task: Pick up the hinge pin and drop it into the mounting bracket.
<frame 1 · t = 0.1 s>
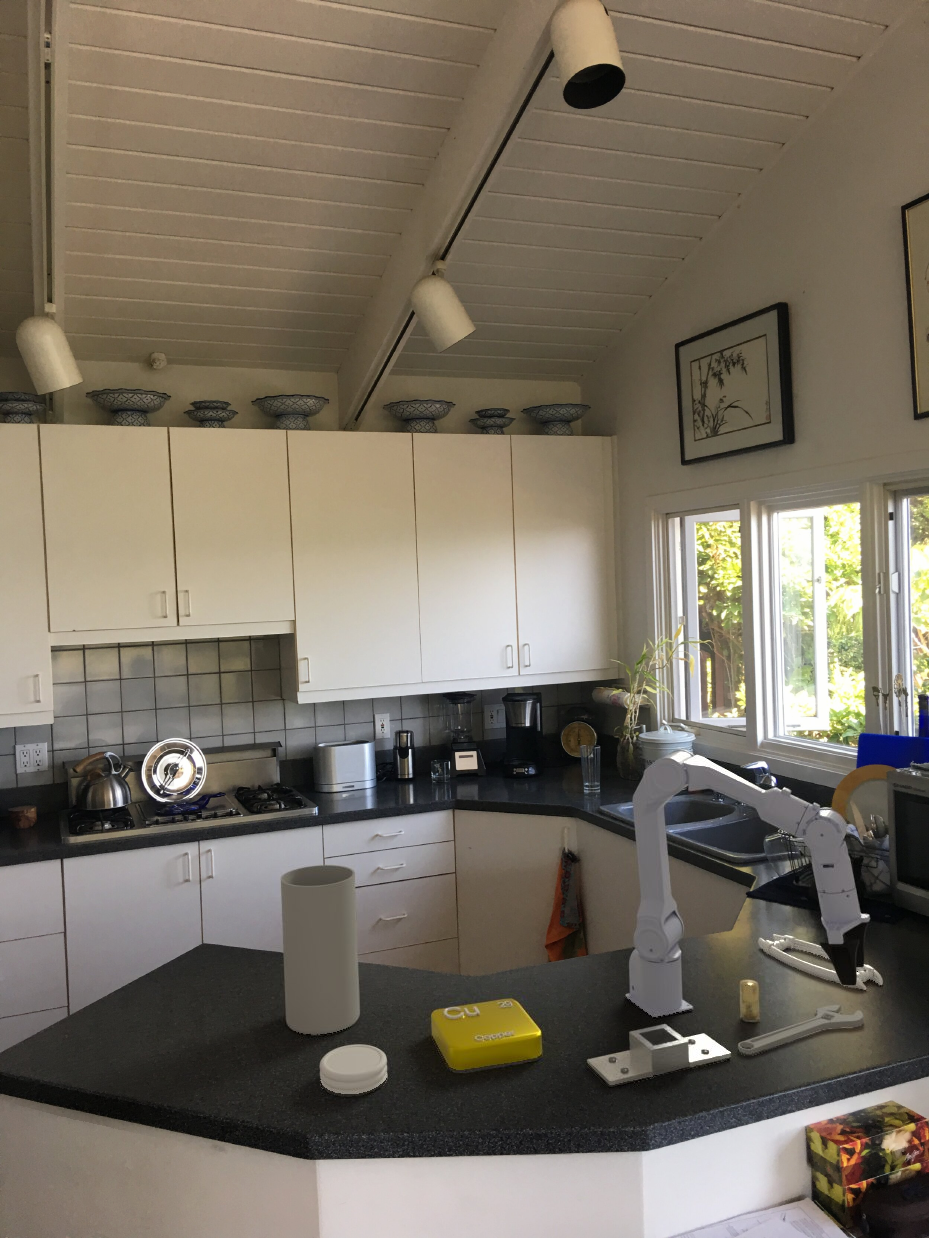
hand: (853, 975, 148), 11 cm above the counter, tool pointing down, fingers open, 7 cm apart
coaster: (354, 1083, 141), on the counter
white tongs: (816, 968, 178), on the counter
element tile: (485, 1049, 151), on the counter
adjustable wrench: (797, 1035, 152), on the counter
mounting bracket: (659, 1062, 143), on the counter
cylinder vase: (323, 1021, 162), on the counter
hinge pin: (750, 1019, 157), on the counter
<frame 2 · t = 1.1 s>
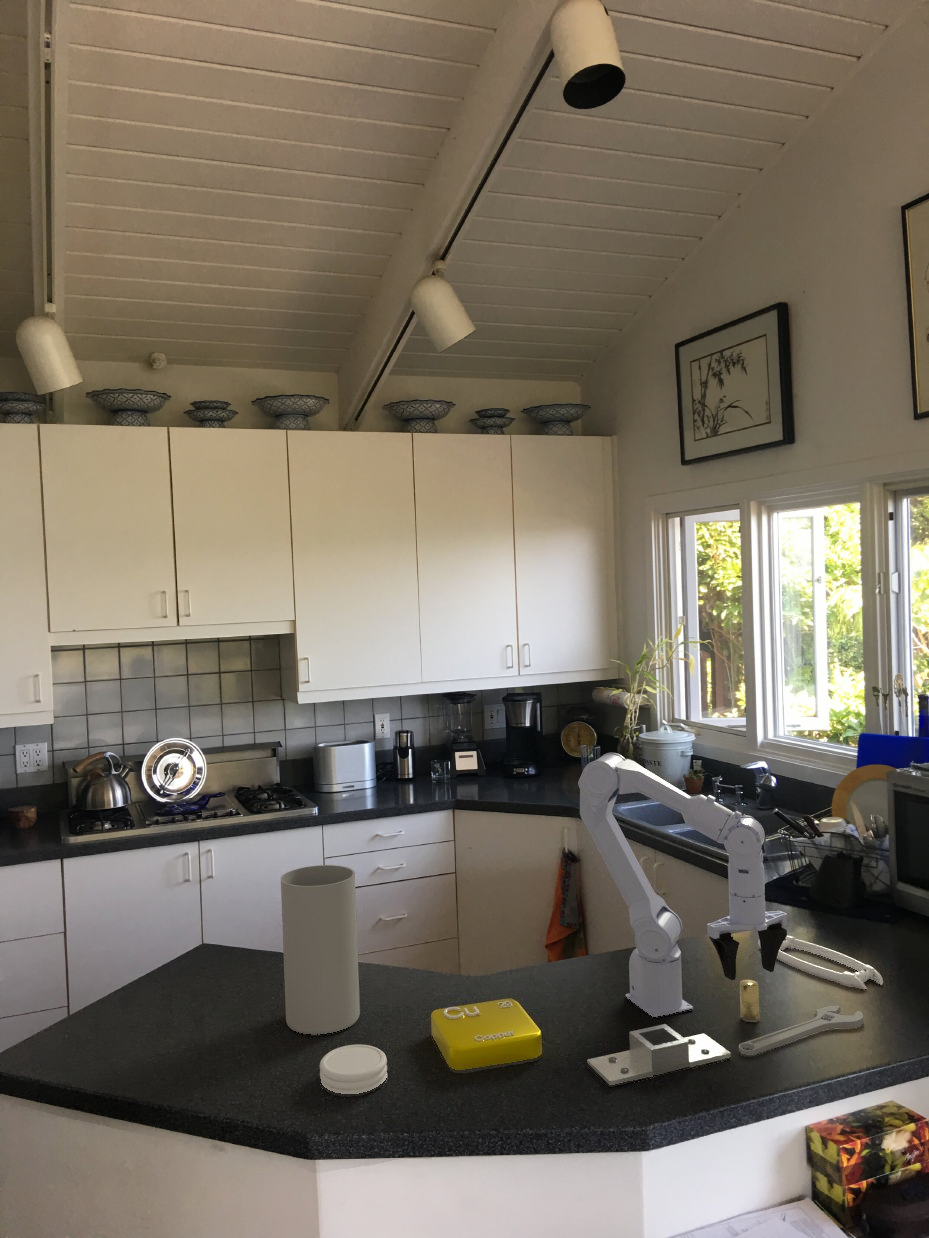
hand: (749, 973, 157), 8 cm above the counter, tool pointing down, fingers open, 7 cm apart
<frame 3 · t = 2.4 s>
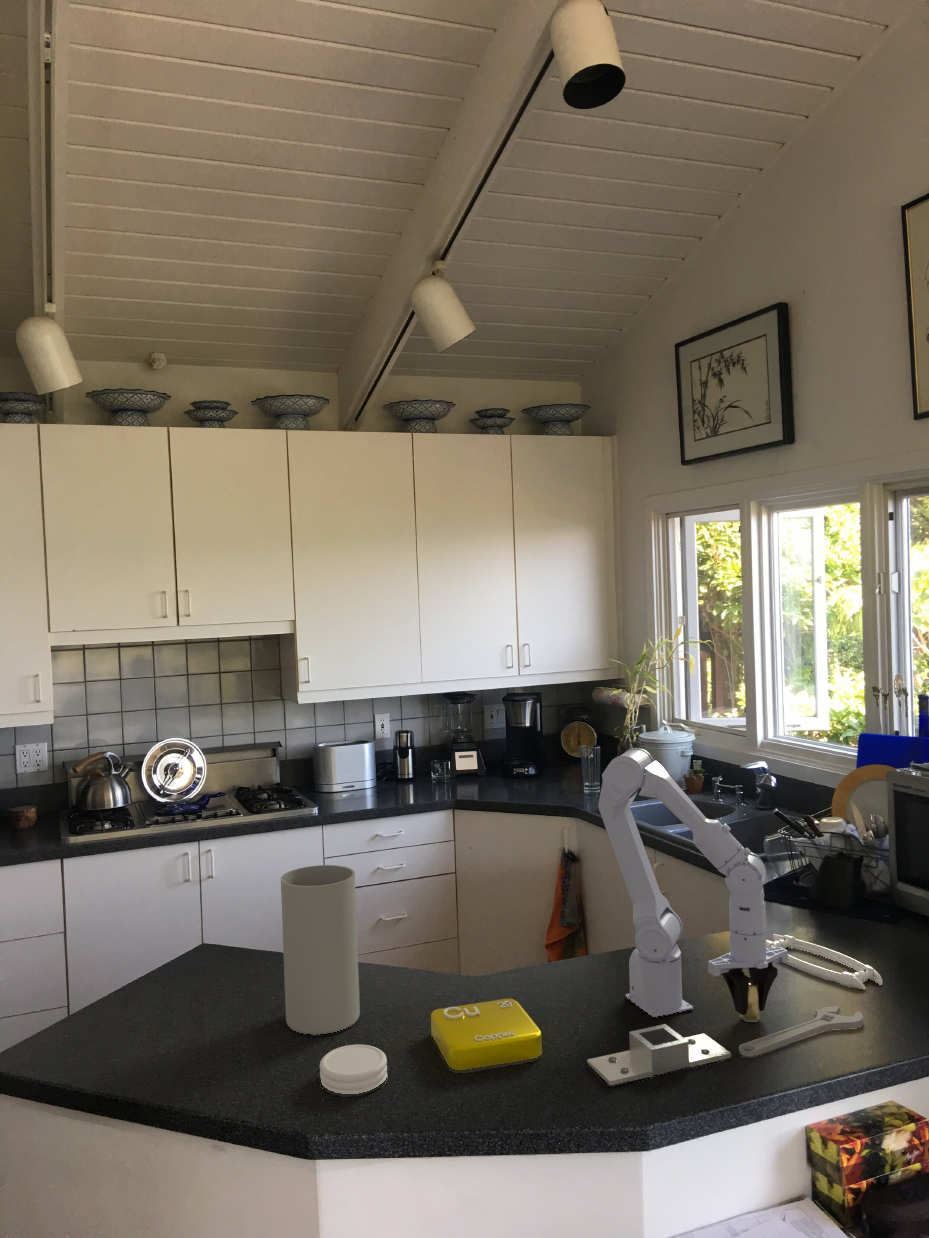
hand: (749, 1010, 157), 1 cm above the counter, tool pointing down, fingers closed on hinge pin, 3 cm apart
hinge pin: (750, 1019, 157), on the counter, touching gripper
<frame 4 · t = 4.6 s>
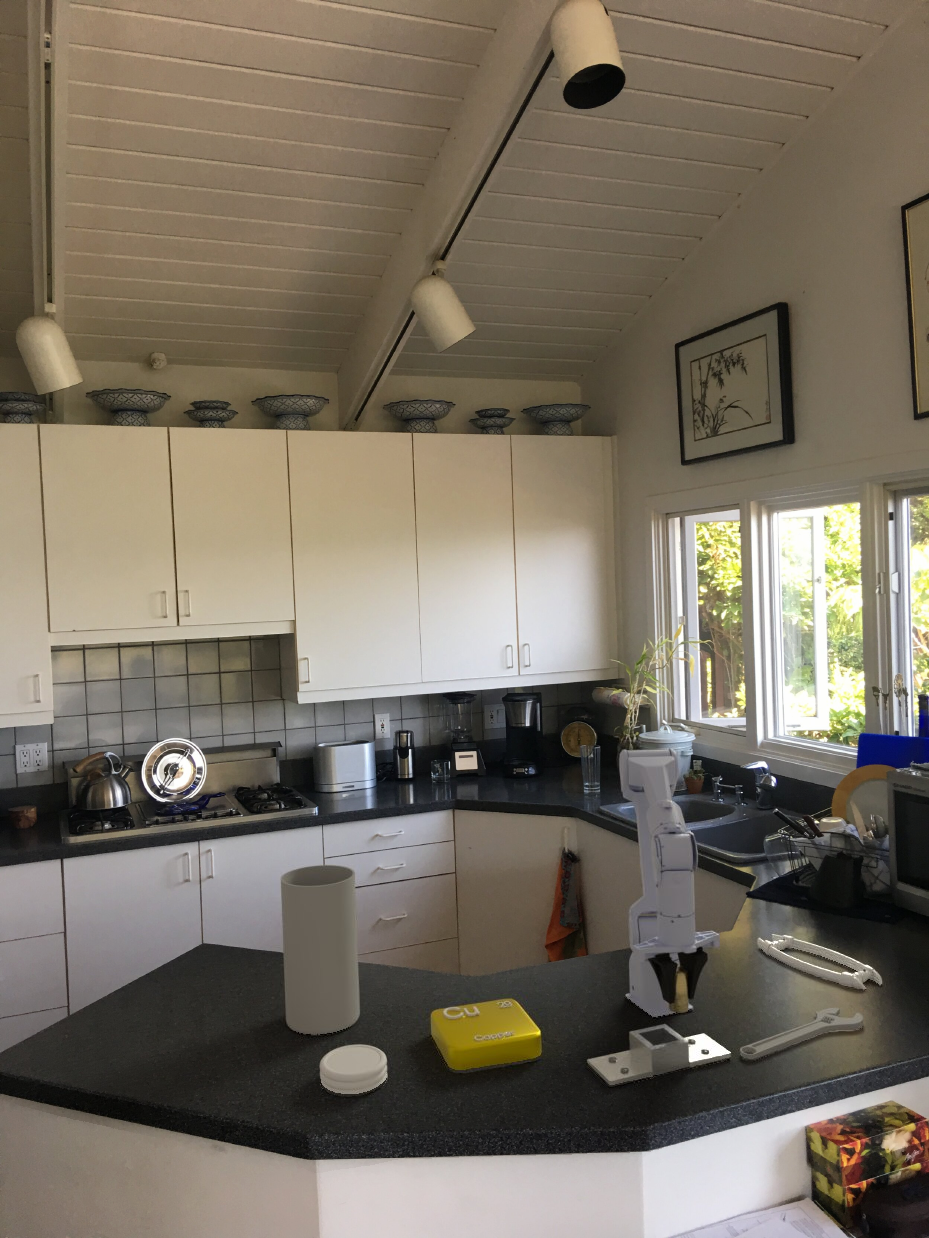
hand: (678, 998, 146), 8 cm above the counter, tool pointing down, fingers closed on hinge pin, 3 cm apart
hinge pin: (678, 1008, 146), point 7 cm above the counter, touching gripper
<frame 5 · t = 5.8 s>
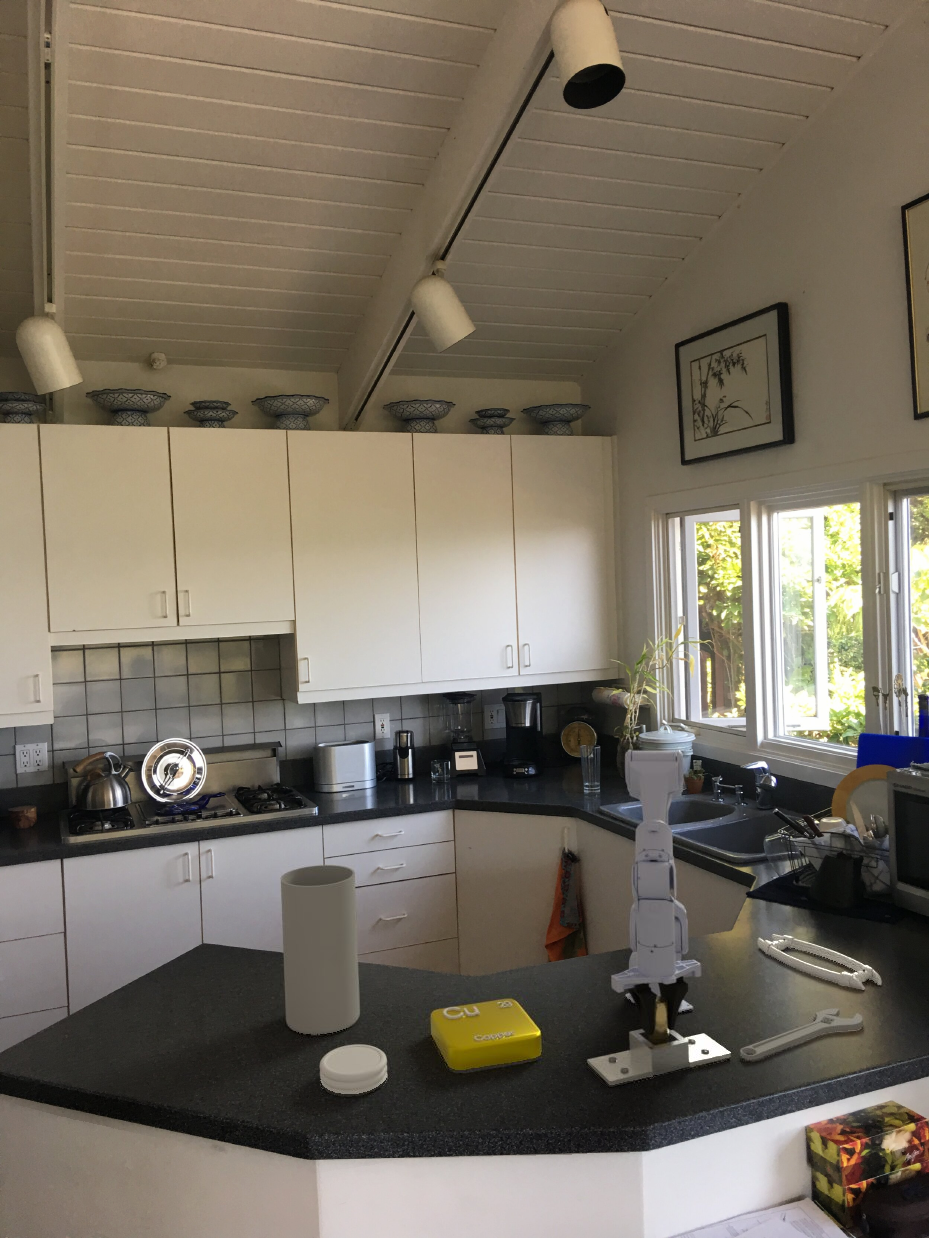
hand: (658, 1029, 143), 5 cm above the counter, tool pointing down, fingers closed on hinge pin, 3 cm apart
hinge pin: (658, 1039, 143), point 4 cm above the counter, touching gripper
when the fingers open (5 cm above the counter, at t = 6.8 s): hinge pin drops 3 cm, resting in mounting bracket.
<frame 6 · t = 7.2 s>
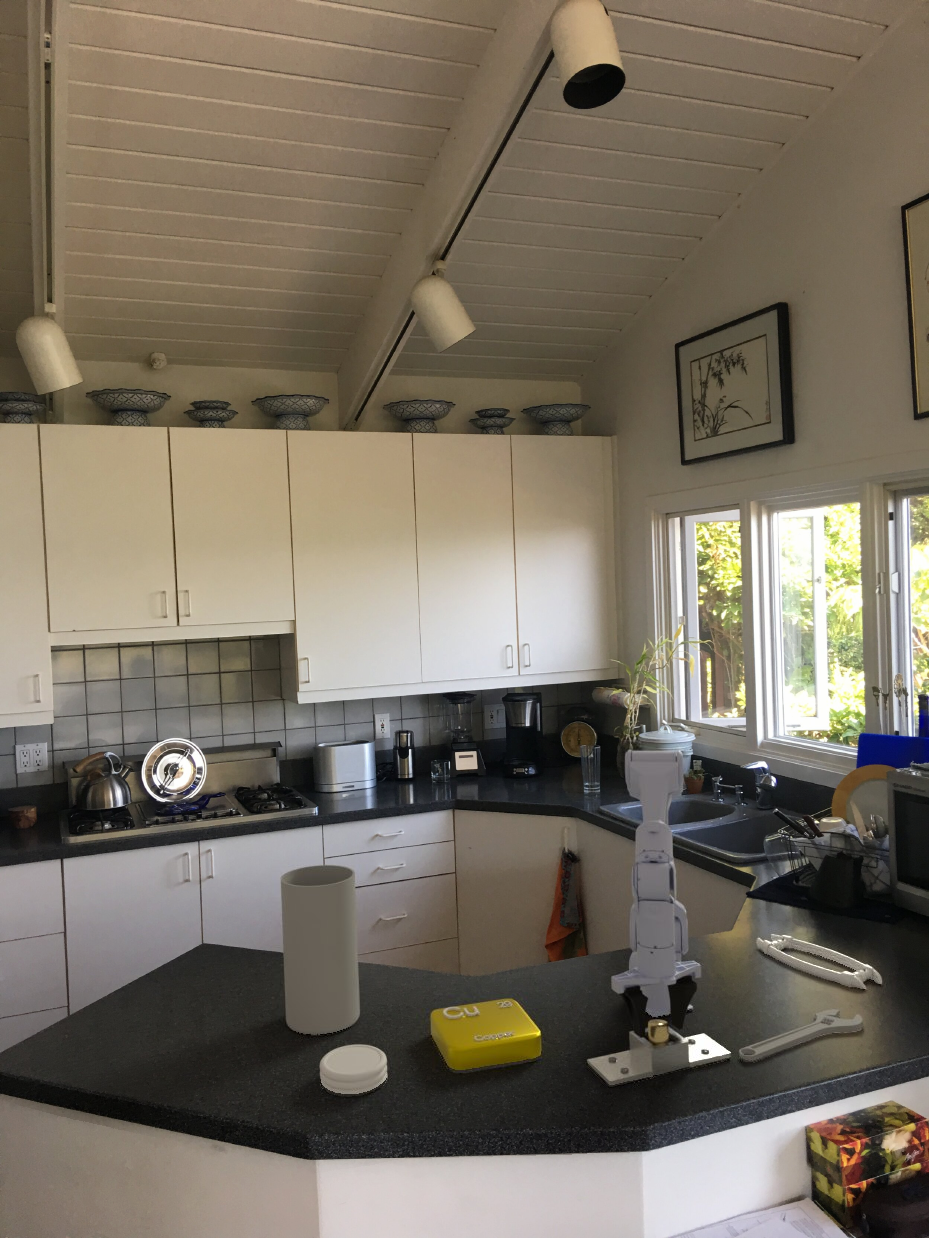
hand: (658, 1030, 143), 5 cm above the counter, tool pointing down, fingers open, 6 cm apart
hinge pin: (659, 1062, 143), resting in mounting bracket
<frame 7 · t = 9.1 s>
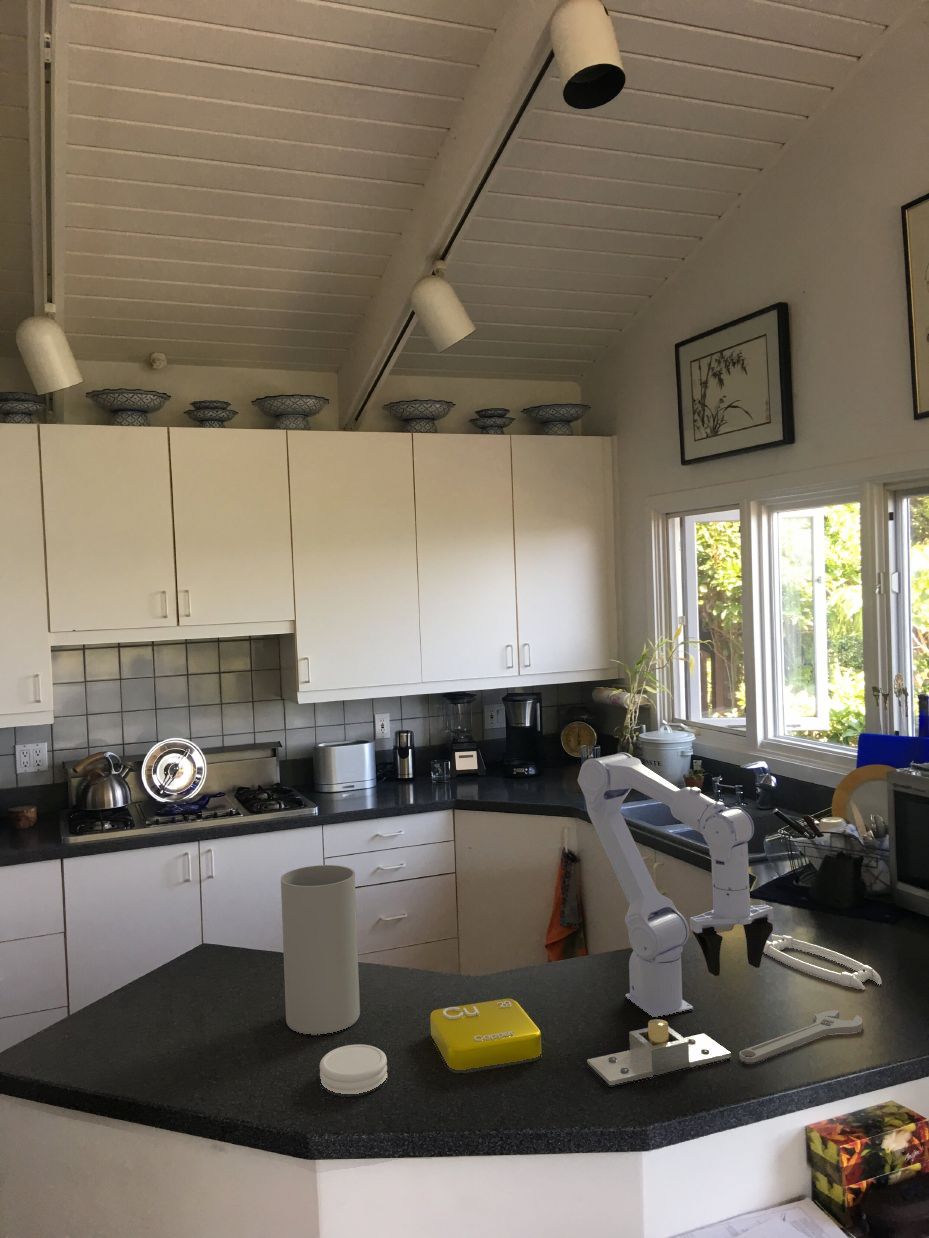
hand: (734, 969, 152), 10 cm above the counter, tool pointing down, fingers open, 7 cm apart
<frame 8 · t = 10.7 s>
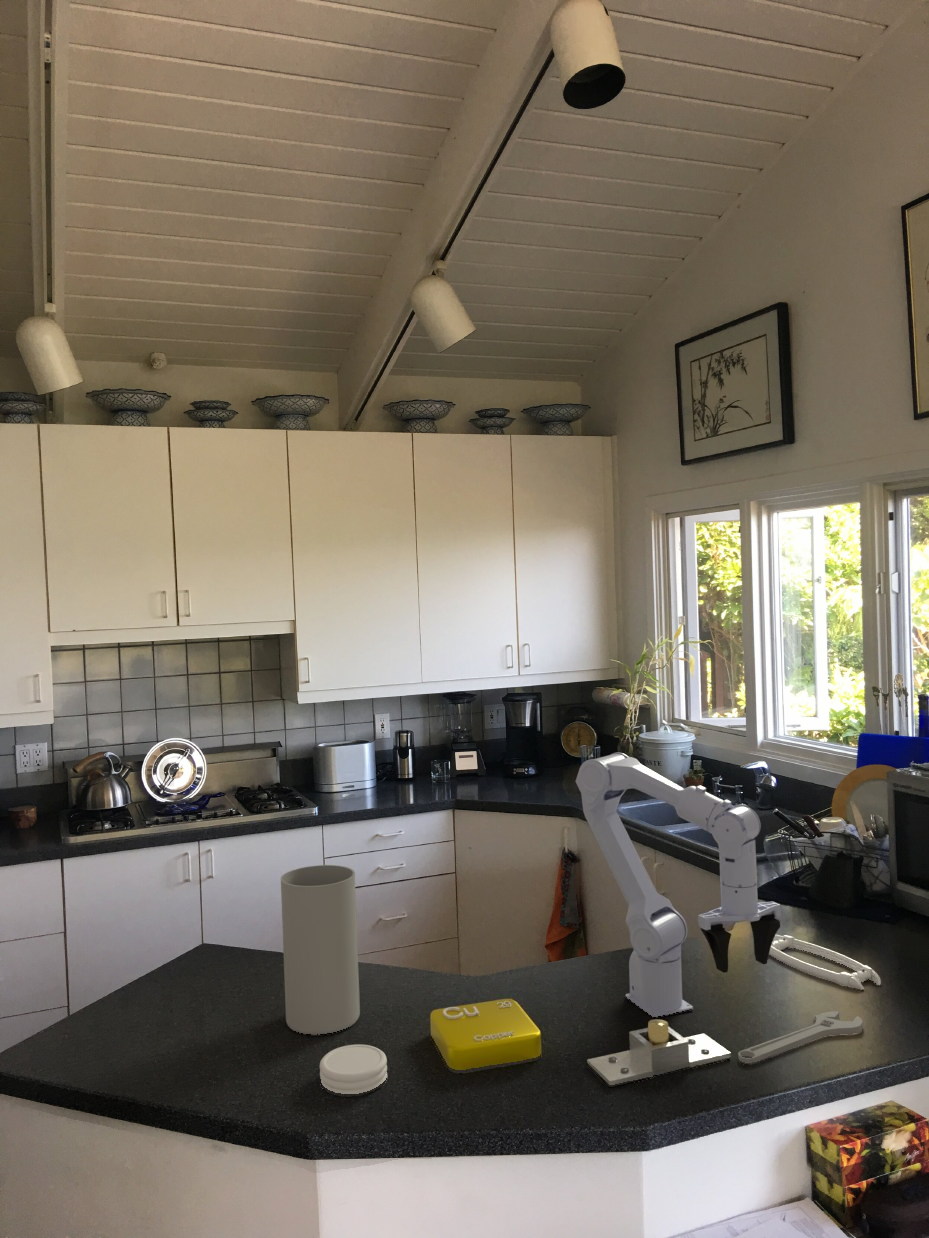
hand: (741, 966, 153), 10 cm above the counter, tool pointing down, fingers open, 7 cm apart
at the end: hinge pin 0.0 cm off-centre on the mounting bracket, point 0.0 cm above the mounting bracket's base; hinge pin tilted 0°; the gripper is holding nothing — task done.
